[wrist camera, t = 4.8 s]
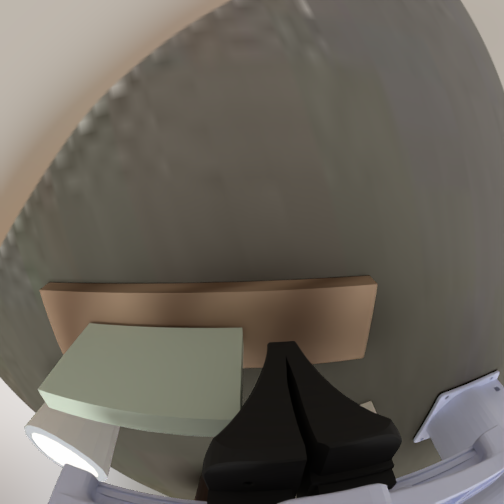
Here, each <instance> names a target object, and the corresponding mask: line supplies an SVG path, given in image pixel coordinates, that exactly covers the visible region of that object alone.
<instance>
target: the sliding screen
mask: <svg viewBox="0 0 504 504" xmlns="http://www.w3.org/2000/svg"><path fill="white" fill-rule="evenodd" d="M38 391H39V392H40V394H41V396H42V397H43V399H44V400H45V402H46V404H47V405H48V407H49V408H52V409H55V410H58V411H61V412H65V413H68V414H71V415H75V416H78V417H82V418H86V419H90V420H94V421H98V422H102V423H107V424H111V425H116V426H121V427H126V428H132V429H138V430H144V431H151V432H158V433H167V434H176V435H188V436H203V437H215V436H216V435H217V434H219V433H220V432H221V431H222V430H223V429H224V428H225V427H226V426H227V425H228V424H229V423H230V422H231V420H232V419H233V418H234V417H235V416H236V415H237V413H238V412H239V411H240V409H241V408H242V393H243V330H242V327H241V328H167V327H139V326H121V325H106V324H93V323H89V324H88V326H87V327H86V328H85V329H84V330H83V332H82V333H81V334H80V335H79V337H78V338H77V339H76V340H75V341H74V343H73V344H72V345H71V346H70V348H69V349H68V350H67V351H66V353H65V354H64V355H63V356H62V358H61V359H60V360H59V362H58V363H57V364H56V366H55V367H54V368H53V369H52V371H51V372H50V373H49V375H48V376H47V377H46V379H45V380H44V382H43V383H42V384H41V386H40V387H39V388H38Z"/></svg>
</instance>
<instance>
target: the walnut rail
mask: <svg viewBox="0 0 504 504" xmlns="http://www.w3.org/2000/svg"><path fill="white" fill-rule="evenodd" d="M377 285H378V284H377V283H376V282H375V281H374V280H373V279H372V278H371V277H370V276H369V275H368V276H353V277H336V278H318V279H298V280H276V281H249V282H215V283H153V284H106V283H48V284H47V285H45V286H44V287H43V288H41V289H40V294H41V297H42V300H43V303H44V306H45V309H46V312H47V315H48V318H49V320H50V323H51V326H52V329H53V331H54V334H55V336H56V339H57V341H58V344H59V346H60V348H61V351H62V353H63V354H65V353H66V351H67V350H68V349H69V348H70V346H71V345H72V344H73V343H74V341H75V340H76V339H77V338H78V337H79V335H80V334H81V333H82V332H83V330H84V329H85V328H86V327H87V326H88V324H89V323H93V324H106V325H121V326H139V327H167V328H241V327H242V330H243V368H263V365H264V362H265V359H266V354H267V344H268V343H269V342H285V341H295V342H296V343H297V344H298V346H299V348H300V349H301V351H302V352H303V353H304V355H305V356H306V357H307V359H308V360H309V361H310V363H311V364H318V363H328V362H336V361H344V360H352V359H359V358H363V357H364V353H365V349H366V344H367V340H368V335H369V330H370V325H371V320H372V315H373V309H374V304H375V298H376V291H377Z"/></svg>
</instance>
